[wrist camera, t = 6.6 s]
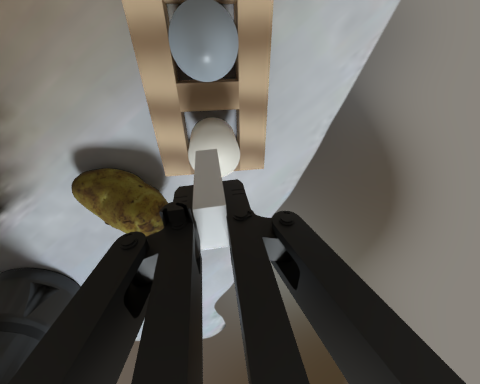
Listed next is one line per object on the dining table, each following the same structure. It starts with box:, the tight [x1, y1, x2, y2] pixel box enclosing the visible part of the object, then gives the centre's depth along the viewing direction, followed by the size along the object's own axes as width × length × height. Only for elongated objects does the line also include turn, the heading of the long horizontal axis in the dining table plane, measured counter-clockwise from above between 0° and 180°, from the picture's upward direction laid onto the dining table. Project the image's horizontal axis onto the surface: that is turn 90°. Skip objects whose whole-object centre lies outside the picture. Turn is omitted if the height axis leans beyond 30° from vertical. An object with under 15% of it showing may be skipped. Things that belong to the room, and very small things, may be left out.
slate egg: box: [169, 0, 238, 82], centre depth 19 cm, size 6×6×5 cm
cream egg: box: [188, 117, 240, 177], centre depth 25 cm, size 6×6×5 cm
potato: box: [72, 168, 168, 236], centre depth 30 cm, size 8×13×8 cm, turn 43°
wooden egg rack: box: [122, 0, 273, 176], centre depth 23 cm, size 30×14×3 cm, turn 1°
